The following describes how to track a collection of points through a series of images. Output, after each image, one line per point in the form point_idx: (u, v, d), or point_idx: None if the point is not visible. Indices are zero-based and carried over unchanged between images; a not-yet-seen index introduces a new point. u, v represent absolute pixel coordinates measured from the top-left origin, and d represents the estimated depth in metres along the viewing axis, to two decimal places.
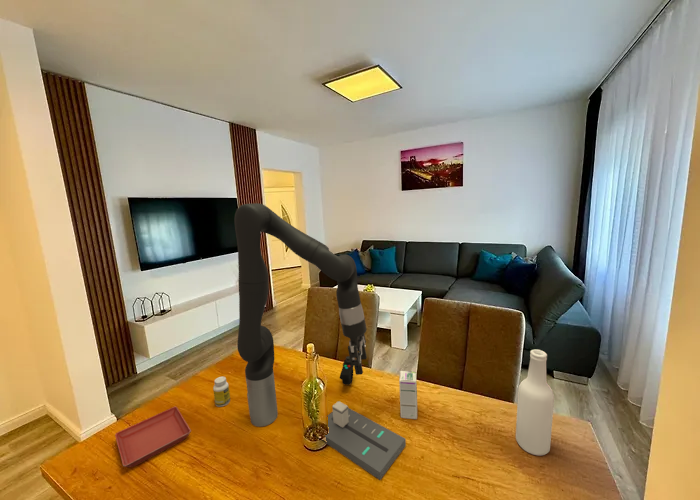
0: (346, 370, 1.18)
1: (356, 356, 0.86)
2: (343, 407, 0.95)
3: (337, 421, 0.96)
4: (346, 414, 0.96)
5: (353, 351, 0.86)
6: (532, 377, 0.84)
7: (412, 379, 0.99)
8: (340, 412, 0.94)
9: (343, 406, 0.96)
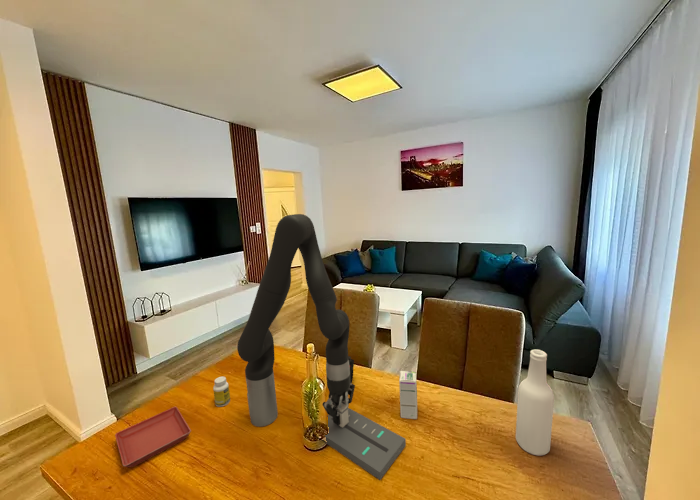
0: None
1: (330, 412, 0.91)
2: (343, 407, 0.95)
3: None
4: (346, 414, 0.96)
5: (327, 409, 0.91)
6: (532, 377, 0.84)
7: (412, 379, 0.99)
8: (340, 412, 0.94)
9: (343, 406, 0.96)
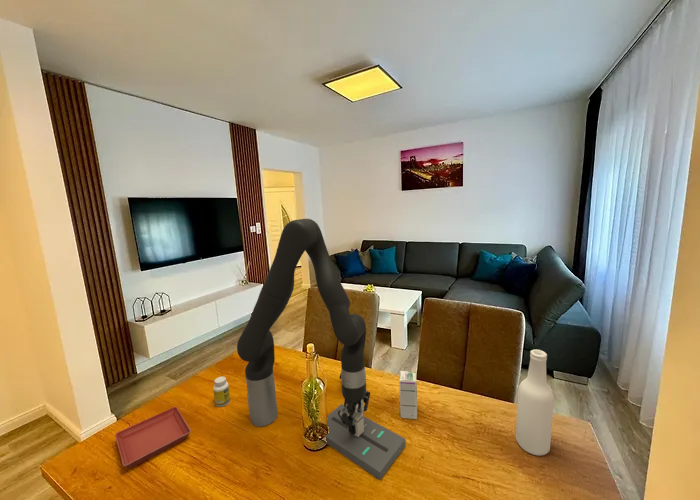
0: None
1: (345, 422, 0.87)
2: (358, 415, 0.91)
3: None
4: (362, 423, 0.92)
5: (342, 418, 0.87)
6: (532, 377, 0.84)
7: (412, 379, 0.99)
8: (356, 421, 0.90)
9: (358, 414, 0.92)
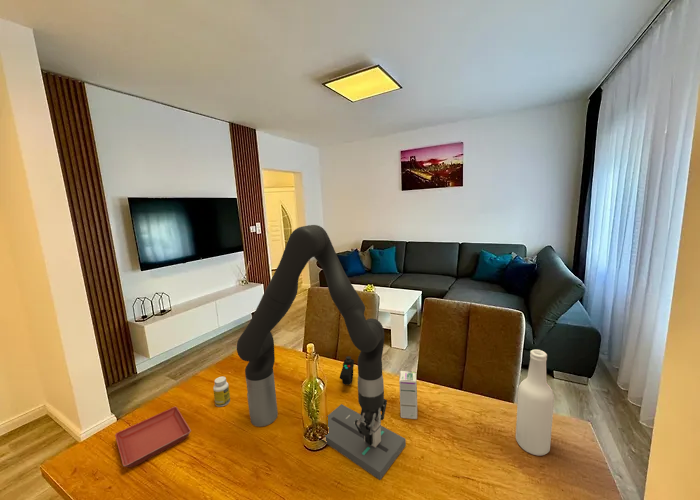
0: (346, 370, 1.18)
1: (363, 432, 0.83)
2: (376, 425, 0.87)
3: None
4: (379, 432, 0.88)
5: (359, 427, 0.83)
6: (532, 377, 0.84)
7: (412, 379, 0.99)
8: (373, 431, 0.86)
9: (375, 424, 0.88)
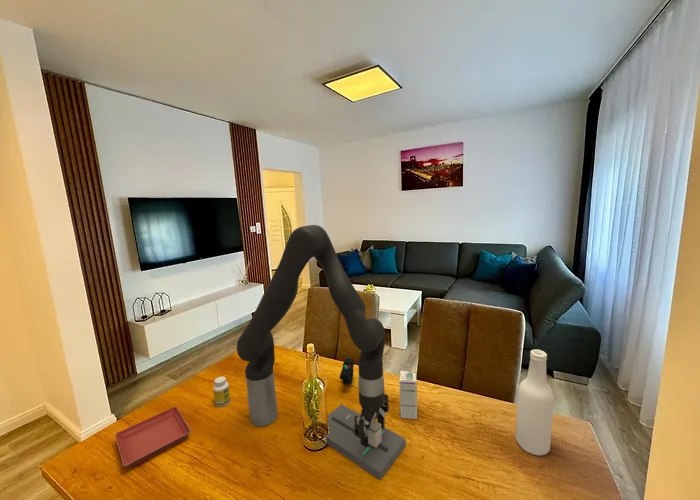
0: (346, 370, 1.18)
1: (360, 430, 0.81)
2: (376, 425, 0.87)
3: (370, 440, 0.88)
4: (379, 433, 0.88)
5: (358, 424, 0.82)
6: (532, 377, 0.84)
7: (412, 379, 0.99)
8: (373, 431, 0.86)
9: (376, 424, 0.88)
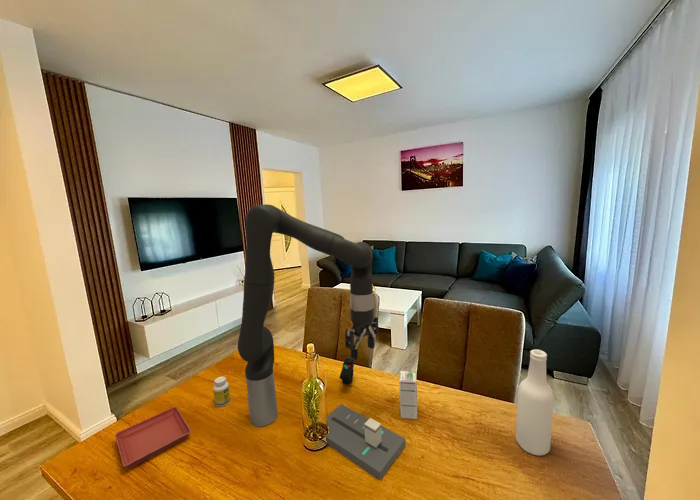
0: (346, 370, 1.18)
1: (350, 341, 0.89)
2: (376, 425, 0.87)
3: (370, 440, 0.88)
4: (379, 433, 0.88)
5: (349, 335, 0.89)
6: (532, 377, 0.84)
7: (412, 379, 0.99)
8: (373, 431, 0.86)
9: (376, 424, 0.88)
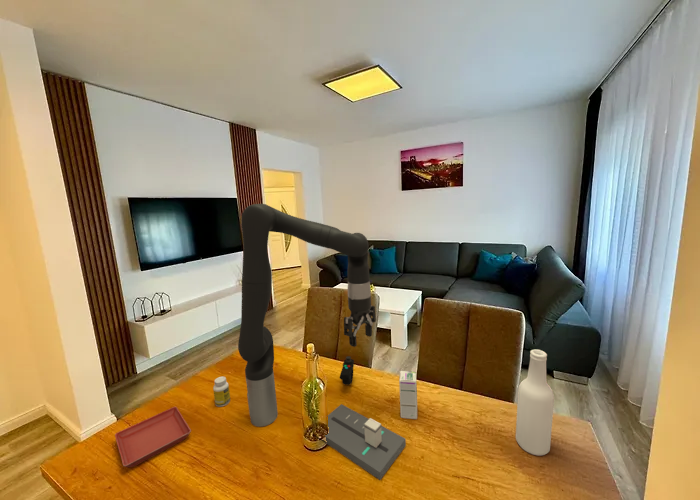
0: (346, 370, 1.18)
1: (349, 328, 0.92)
2: (376, 425, 0.87)
3: (370, 440, 0.88)
4: (379, 433, 0.88)
5: (347, 323, 0.92)
6: (532, 377, 0.84)
7: (412, 379, 0.99)
8: (373, 431, 0.86)
9: (376, 424, 0.88)
